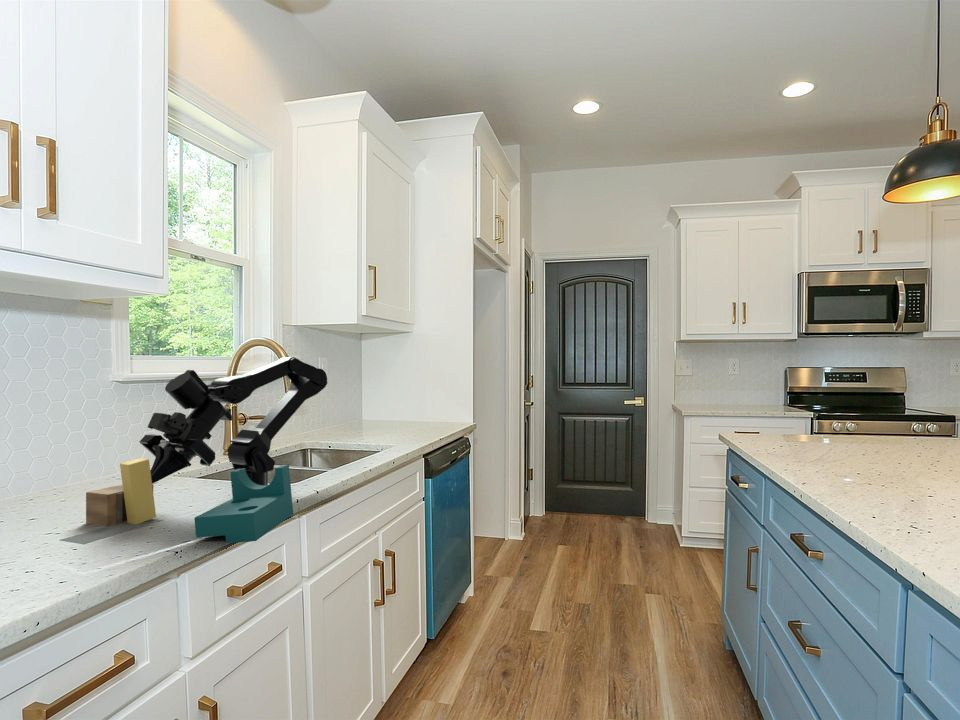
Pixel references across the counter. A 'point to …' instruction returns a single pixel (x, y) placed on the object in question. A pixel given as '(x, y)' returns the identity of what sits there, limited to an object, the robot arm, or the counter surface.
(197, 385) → the robot arm
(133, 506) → the yellow block
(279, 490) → the teal l-shaped bracket
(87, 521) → the brown box
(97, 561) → the counter surface
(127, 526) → the mat
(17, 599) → the counter surface
